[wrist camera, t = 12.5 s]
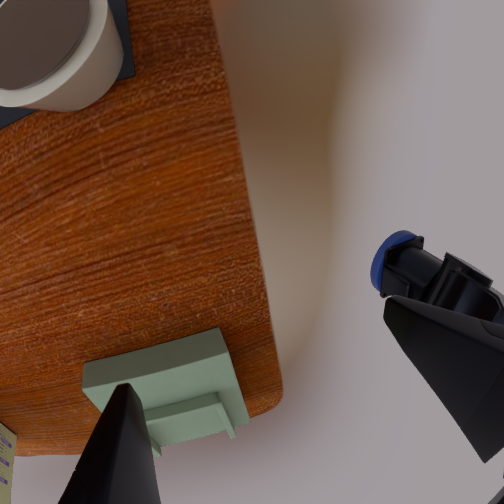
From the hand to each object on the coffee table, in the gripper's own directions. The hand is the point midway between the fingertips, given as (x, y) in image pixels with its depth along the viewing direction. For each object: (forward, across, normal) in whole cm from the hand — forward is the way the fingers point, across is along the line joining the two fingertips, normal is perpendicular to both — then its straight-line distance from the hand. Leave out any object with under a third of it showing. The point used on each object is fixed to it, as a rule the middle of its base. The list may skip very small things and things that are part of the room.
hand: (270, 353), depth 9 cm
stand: (+12, +7, +14) cm, 19 cm away
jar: (+11, +6, -12) cm, 18 cm away
